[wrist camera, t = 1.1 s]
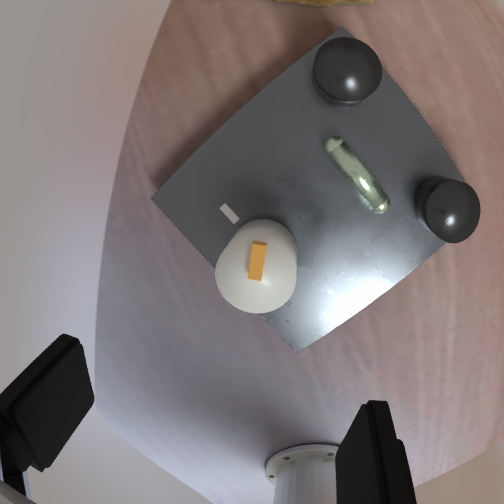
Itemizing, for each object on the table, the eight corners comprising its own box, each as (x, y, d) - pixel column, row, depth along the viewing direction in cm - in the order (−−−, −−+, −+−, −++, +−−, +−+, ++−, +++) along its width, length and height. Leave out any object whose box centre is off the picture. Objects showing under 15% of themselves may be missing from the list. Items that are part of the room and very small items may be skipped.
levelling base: (469, 206, 23) (499, 220, 18) (297, 340, 29) (296, 374, 24) (339, 34, 20) (348, 11, 15) (160, 194, 26) (132, 205, 22)
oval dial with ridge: (290, 286, 25) (288, 324, 20) (227, 275, 25) (209, 309, 20) (302, 225, 23) (303, 248, 18) (234, 214, 24) (216, 234, 18)
